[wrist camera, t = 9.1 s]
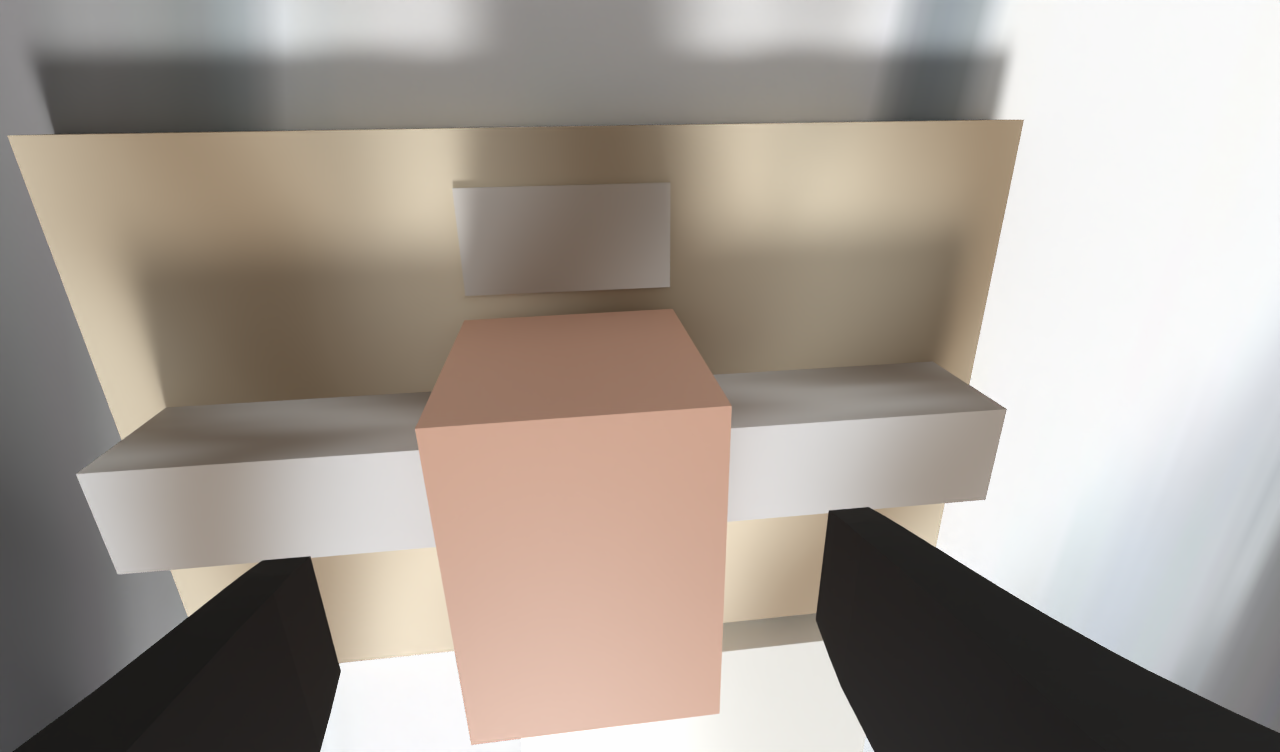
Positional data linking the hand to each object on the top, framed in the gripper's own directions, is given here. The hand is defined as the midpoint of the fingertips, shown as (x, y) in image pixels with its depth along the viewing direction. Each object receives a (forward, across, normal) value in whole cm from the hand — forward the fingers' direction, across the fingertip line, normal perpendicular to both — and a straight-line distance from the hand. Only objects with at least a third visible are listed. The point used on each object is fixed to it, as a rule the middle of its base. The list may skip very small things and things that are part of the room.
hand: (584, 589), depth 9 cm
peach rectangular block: (+5, 0, 0) cm, 5 cm away
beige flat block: (+6, 0, 0) cm, 6 cm away
